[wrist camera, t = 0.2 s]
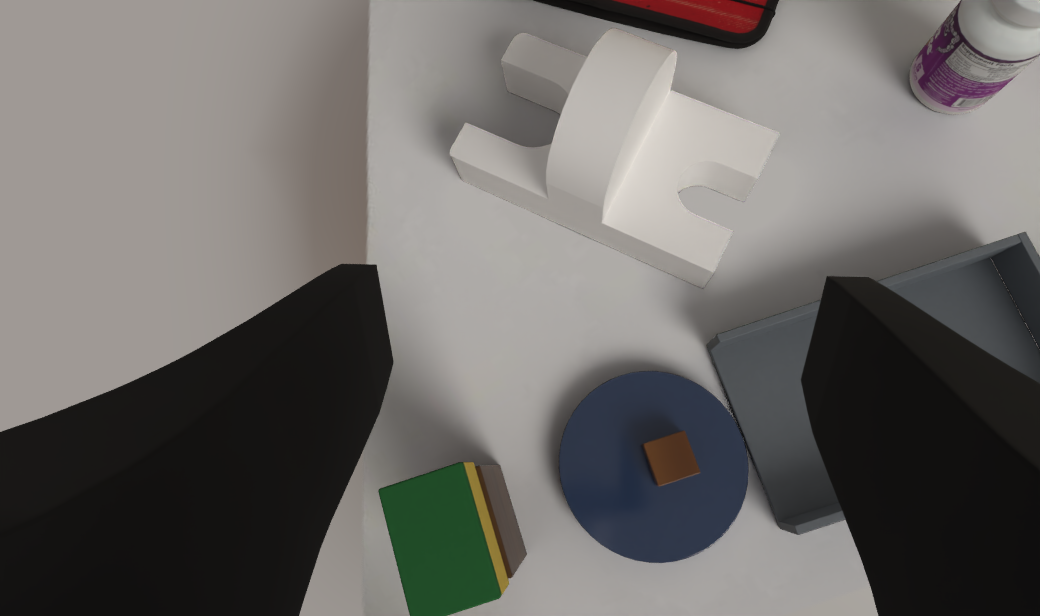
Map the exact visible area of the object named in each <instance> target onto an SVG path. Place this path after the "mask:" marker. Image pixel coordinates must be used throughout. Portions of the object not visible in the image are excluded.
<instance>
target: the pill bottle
mask: <svg viewBox="0 0 1040 616" xmlns="http://www.w3.org/2000/svg"><path fill="white" fill-rule="evenodd" d="M1039 55H1040V0H961V1H960V2H959V4H958V5H957V6H956V7H955V8H954V10H953V11H952V12H951V13H950V15H949V16H948V17H947V18H946V20H945V21H944V22H943V23H942V25H941V26H940V27H939V29H938V30H937V31H936V32H935V33H934V35H933V36H932V37H931V39H930V40H929V41H928V42H927V44H926V45H925V46H924V47H923V49H922V50H921V51H920V52H919V54H918V55H917V56H916V58H915V59H914V61H913V63H912V65H911V68H910V72H909V79H910V85H911V88H912V91H913V93H914V94H915V96H916V97H917V98H918V99H919V100H920V101H921V102H922V103H923V104H924V105H925V106H927V107H928V108H930V109H932V110H934V111H936V112H940V113H945V114H949V115H956V114H964V113H968V112H971V111H973V110H975V109H978V108H979V107H981V106H982V105H984V104H985V103H986V102H987V101H988V100H989V99H991V98H992V97H993V96H994V95H996V94H997V93H998V92H999V91H1000V90H1001V89H1002V88H1003V87H1004V86H1005V85H1007V84H1008V83H1009V82H1010V81H1011V80H1012V79H1013V78H1014V77H1015V76H1017V75H1018V74H1019V73H1020V72H1021V71H1022V70H1023V69H1024V68H1025V67H1027V66H1028V65H1029V64H1030V63H1031V62H1032V61H1033V60H1035V59H1036V58H1037V57H1038V56H1039Z"/></svg>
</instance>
